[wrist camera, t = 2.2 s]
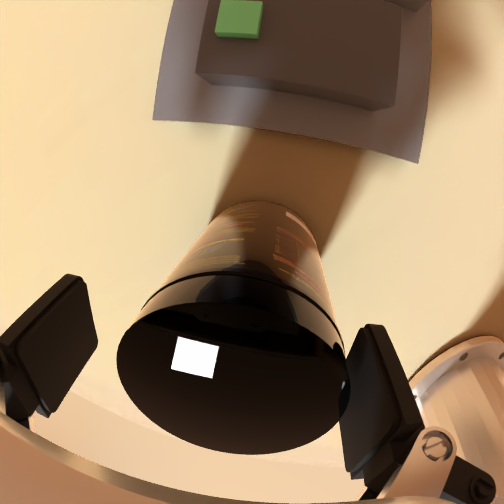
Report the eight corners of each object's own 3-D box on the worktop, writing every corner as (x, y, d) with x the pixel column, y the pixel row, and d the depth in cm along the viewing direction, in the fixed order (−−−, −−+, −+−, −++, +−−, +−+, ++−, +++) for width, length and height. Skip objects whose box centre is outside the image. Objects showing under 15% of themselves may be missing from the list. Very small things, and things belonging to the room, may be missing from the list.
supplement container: (180, 257, 17) (89, 381, 8) (252, 171, 15) (195, 237, 5) (264, 322, 19) (245, 469, 9) (341, 251, 16) (397, 393, 7)
